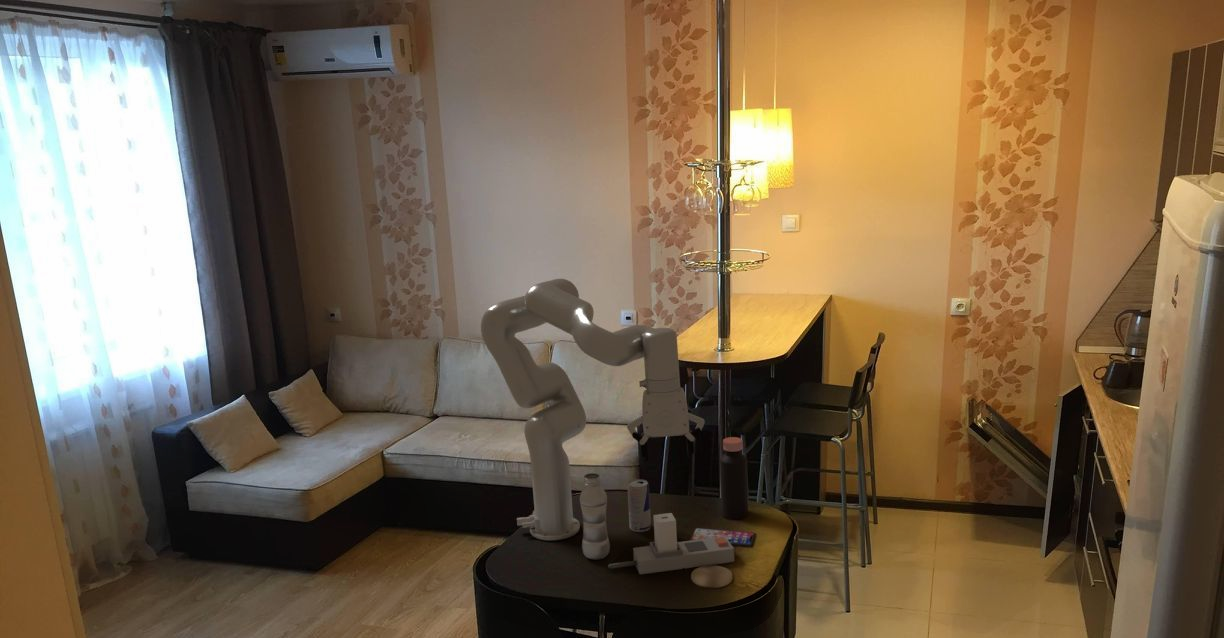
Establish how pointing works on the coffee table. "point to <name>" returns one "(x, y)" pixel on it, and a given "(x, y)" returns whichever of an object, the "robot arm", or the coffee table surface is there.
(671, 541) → the block
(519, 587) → the coffee table surface
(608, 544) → the plastic bottle
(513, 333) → the robot arm
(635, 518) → the energy drink
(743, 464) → the vinegar
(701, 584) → the coaster
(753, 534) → the smartphone
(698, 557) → the power strip
